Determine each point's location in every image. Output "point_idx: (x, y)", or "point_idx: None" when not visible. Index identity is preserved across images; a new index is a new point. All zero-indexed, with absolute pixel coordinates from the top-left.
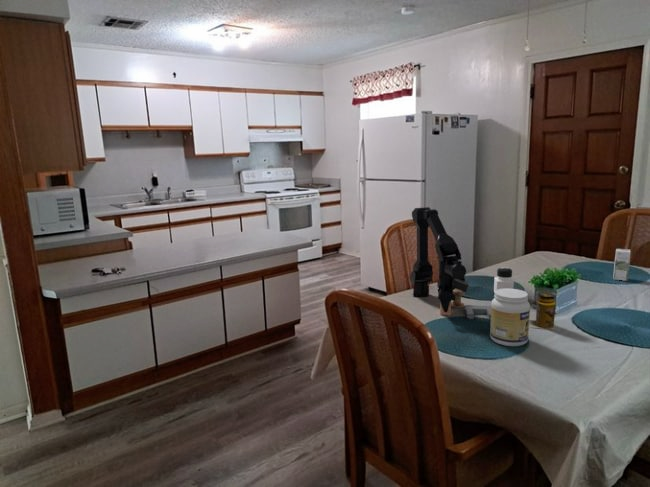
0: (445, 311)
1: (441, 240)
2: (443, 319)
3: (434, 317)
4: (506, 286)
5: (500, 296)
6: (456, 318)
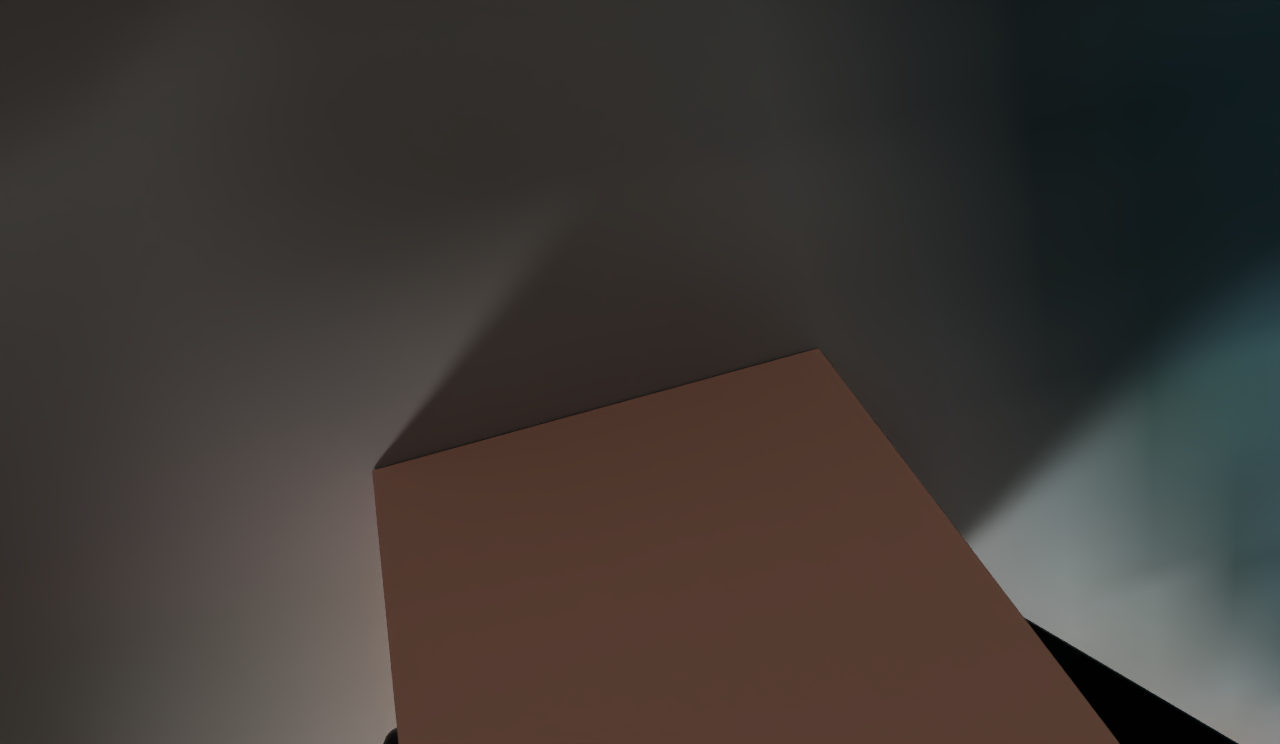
0: None
1: None
2: (1252, 461)
3: None
4: None
5: None
6: (1162, 51)
